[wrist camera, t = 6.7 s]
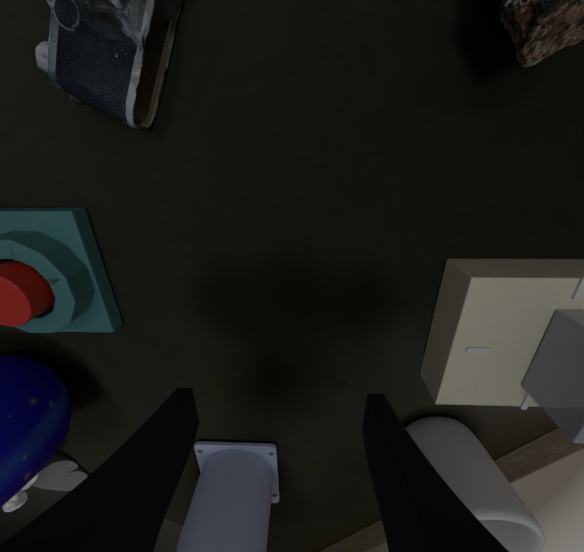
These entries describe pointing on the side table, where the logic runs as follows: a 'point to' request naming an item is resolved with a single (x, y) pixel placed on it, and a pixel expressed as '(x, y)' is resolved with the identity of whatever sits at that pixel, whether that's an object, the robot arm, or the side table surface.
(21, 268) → the button
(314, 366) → the side table surface
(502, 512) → the cup
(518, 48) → the rock
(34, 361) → the ornament
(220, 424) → the side table surface
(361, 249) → the side table surface
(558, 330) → the gray rectangular block
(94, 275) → the button block
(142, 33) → the camera
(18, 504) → the fairy figurine
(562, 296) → the panel
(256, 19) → the side table surface
